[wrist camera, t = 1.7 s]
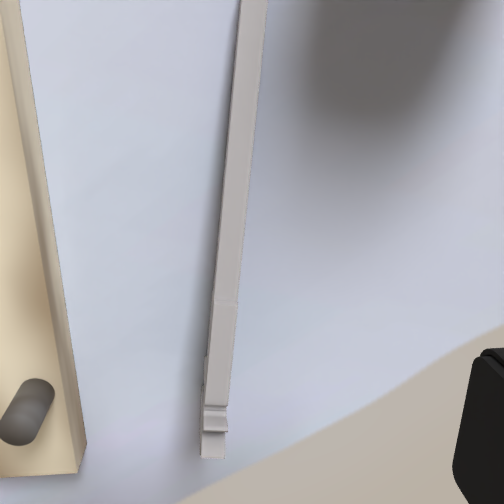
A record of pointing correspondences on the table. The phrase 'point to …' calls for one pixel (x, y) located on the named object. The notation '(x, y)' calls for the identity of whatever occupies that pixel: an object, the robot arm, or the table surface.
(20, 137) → the tool rest
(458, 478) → the robot arm
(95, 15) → the table surface
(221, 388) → the caliper
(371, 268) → the table surface
